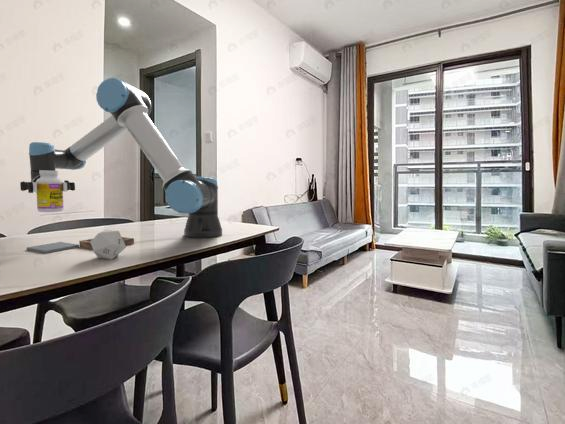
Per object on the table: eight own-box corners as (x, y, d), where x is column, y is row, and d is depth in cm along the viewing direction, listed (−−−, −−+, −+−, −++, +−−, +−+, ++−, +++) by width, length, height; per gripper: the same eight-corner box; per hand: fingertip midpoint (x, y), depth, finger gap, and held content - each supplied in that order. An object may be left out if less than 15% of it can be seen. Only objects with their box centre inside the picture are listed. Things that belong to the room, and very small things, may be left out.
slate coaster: (79, 247, 102) (79, 244, 102) (45, 253, 93) (45, 250, 93) (60, 244, 106) (60, 241, 106) (26, 249, 97) (26, 247, 97)
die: (92, 265, 83) (115, 237, 83) (77, 246, 87) (99, 219, 87) (117, 268, 91) (137, 242, 91) (102, 251, 94) (122, 225, 94)
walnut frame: (134, 243, 108) (133, 238, 108) (103, 250, 97) (102, 244, 97) (111, 240, 112) (111, 235, 112) (79, 246, 102) (79, 240, 102)
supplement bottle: (49, 212, 94) (47, 170, 93) (32, 212, 96) (29, 170, 94) (69, 210, 101) (66, 170, 99) (52, 210, 102) (49, 170, 101)
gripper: (78, 195, 118) (89, 198, 100) (10, 196, 105) (8, 200, 88) (77, 175, 117) (88, 175, 99) (8, 173, 104) (6, 173, 87)
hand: (50, 187), depth 93 cm, fingers closed on supplement bottle, 7 cm apart
